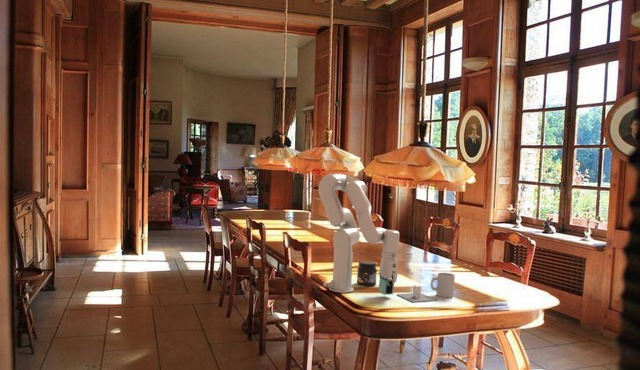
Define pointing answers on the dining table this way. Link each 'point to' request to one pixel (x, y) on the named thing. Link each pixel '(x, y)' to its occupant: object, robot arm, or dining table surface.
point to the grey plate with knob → (416, 295)
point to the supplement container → (366, 273)
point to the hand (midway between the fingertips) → (385, 291)
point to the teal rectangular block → (383, 286)
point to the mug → (444, 285)
